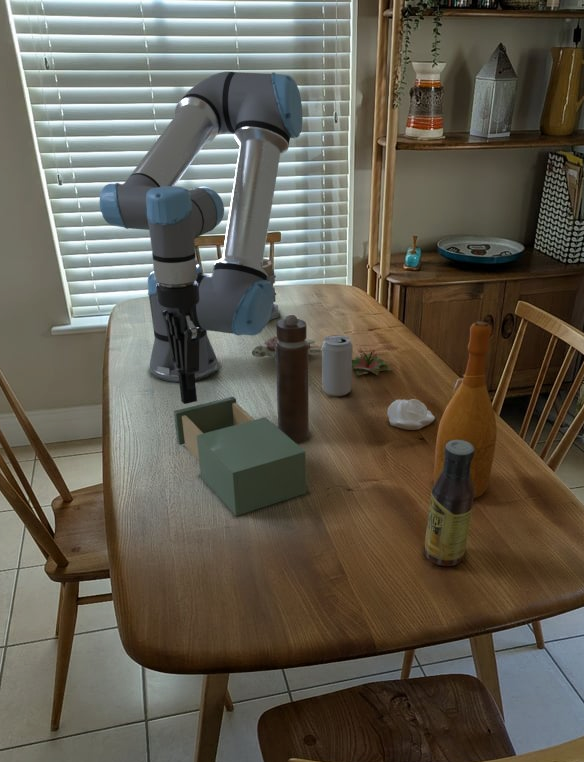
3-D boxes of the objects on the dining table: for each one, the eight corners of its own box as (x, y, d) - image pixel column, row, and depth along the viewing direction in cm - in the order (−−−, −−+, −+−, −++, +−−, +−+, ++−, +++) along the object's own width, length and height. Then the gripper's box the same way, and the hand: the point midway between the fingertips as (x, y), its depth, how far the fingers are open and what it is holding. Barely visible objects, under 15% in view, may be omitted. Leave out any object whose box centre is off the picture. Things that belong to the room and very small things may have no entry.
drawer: (174, 439, 139) (171, 408, 136) (232, 424, 145) (230, 393, 141) (206, 474, 129) (202, 441, 125) (267, 456, 135) (265, 424, 131)
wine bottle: (492, 478, 131) (518, 316, 114) (482, 507, 124) (509, 338, 107) (438, 468, 134) (456, 309, 117) (426, 496, 126) (443, 329, 109)
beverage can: (348, 399, 157) (349, 346, 150) (319, 396, 158) (319, 343, 151) (353, 387, 162) (355, 335, 155) (325, 384, 163) (325, 332, 156)
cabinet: (200, 476, 130) (196, 435, 126) (267, 457, 136) (265, 416, 132) (235, 516, 120) (232, 473, 116) (305, 493, 126) (305, 451, 122)
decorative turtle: (243, 346, 181) (241, 326, 178) (306, 338, 185) (306, 319, 182) (262, 375, 167) (261, 354, 164) (330, 366, 171) (331, 345, 168)
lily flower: (401, 374, 168) (403, 356, 165) (353, 382, 164) (354, 363, 162) (380, 355, 177) (381, 337, 175) (334, 361, 173) (334, 343, 171)
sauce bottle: (420, 544, 115) (431, 433, 103) (459, 543, 115) (475, 432, 104) (428, 571, 109) (441, 457, 98) (468, 569, 110) (486, 455, 99)
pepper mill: (272, 433, 144) (268, 312, 130) (299, 425, 147) (297, 307, 133) (287, 446, 140) (284, 323, 126) (314, 438, 143) (314, 317, 129)
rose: (388, 388, 151) (434, 390, 151) (386, 408, 154) (433, 409, 154) (388, 410, 143) (437, 412, 143) (387, 430, 146) (435, 432, 145)
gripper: (211, 288, 128) (220, 409, 141) (182, 269, 137) (194, 385, 150) (170, 294, 124) (184, 418, 138) (144, 275, 133) (159, 393, 147)
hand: (189, 401), depth 144 cm, fingers closed
